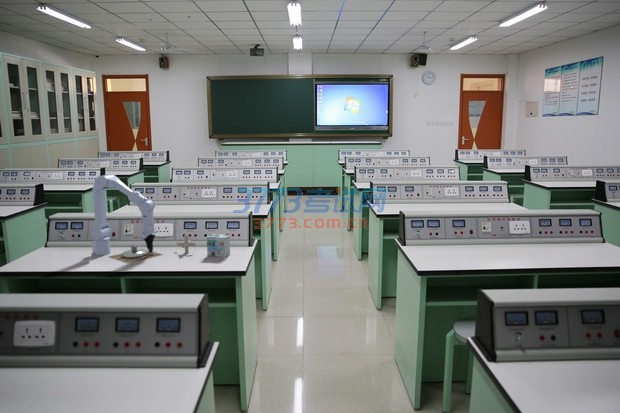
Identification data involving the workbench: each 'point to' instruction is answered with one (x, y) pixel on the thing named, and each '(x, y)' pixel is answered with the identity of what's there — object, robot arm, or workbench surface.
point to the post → (134, 248)
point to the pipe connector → (186, 243)
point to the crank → (137, 253)
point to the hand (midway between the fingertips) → (149, 248)
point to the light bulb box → (218, 245)
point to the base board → (131, 260)
